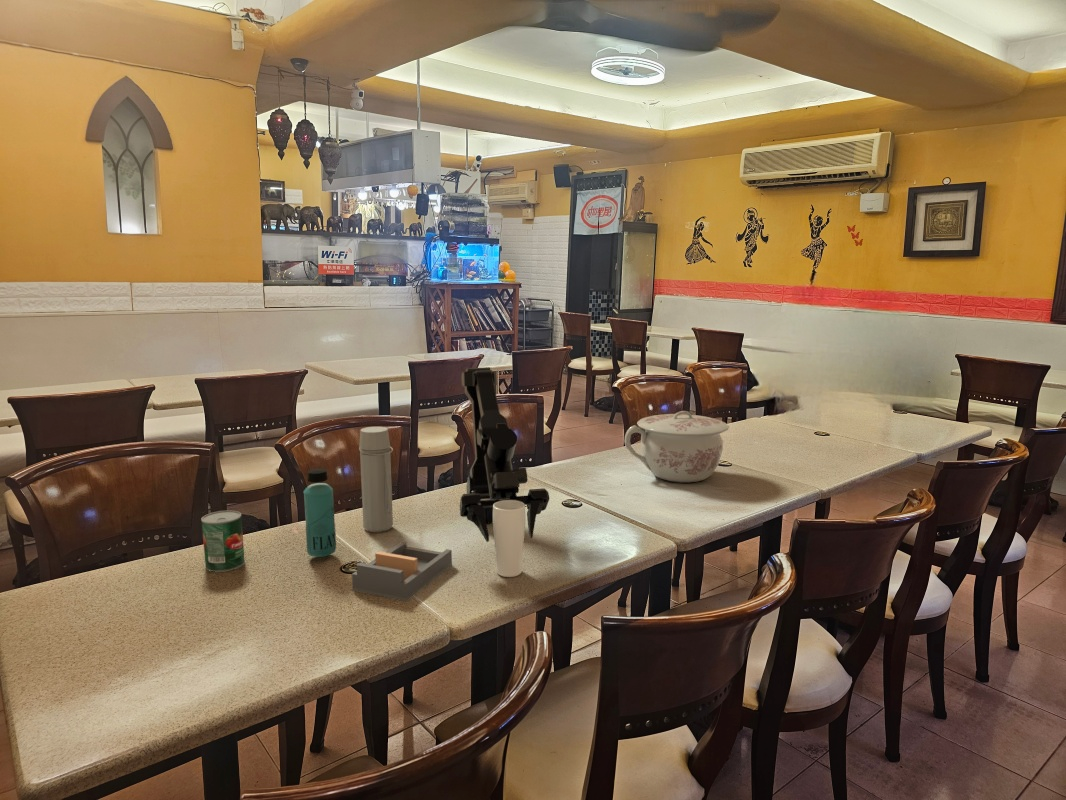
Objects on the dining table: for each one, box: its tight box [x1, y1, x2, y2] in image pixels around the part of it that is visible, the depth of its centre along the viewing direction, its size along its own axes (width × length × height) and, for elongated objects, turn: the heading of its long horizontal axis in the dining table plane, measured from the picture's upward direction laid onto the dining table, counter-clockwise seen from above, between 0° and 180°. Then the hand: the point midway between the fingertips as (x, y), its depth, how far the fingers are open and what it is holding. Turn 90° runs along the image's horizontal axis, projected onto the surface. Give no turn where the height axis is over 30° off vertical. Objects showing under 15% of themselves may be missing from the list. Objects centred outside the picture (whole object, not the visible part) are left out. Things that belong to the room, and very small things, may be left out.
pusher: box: [374, 551, 418, 580], centre depth 144 cm, size 1×9×5 cm, turn 68°
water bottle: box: [358, 426, 394, 533], centre depth 172 cm, size 9×8×25 cm
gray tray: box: [351, 541, 453, 602], centre depth 147 cm, size 18×12×6 cm
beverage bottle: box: [303, 468, 337, 558], centre depth 156 cm, size 6×7×20 cm
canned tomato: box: [200, 510, 246, 573], centre depth 153 cm, size 8×8×11 cm
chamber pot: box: [624, 410, 730, 484], centre depth 217 cm, size 28×28×21 cm
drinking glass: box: [492, 500, 526, 578], centre depth 148 cm, size 7×7×15 cm
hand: (509, 539), depth 147 cm, fingers open, 9 cm apart
